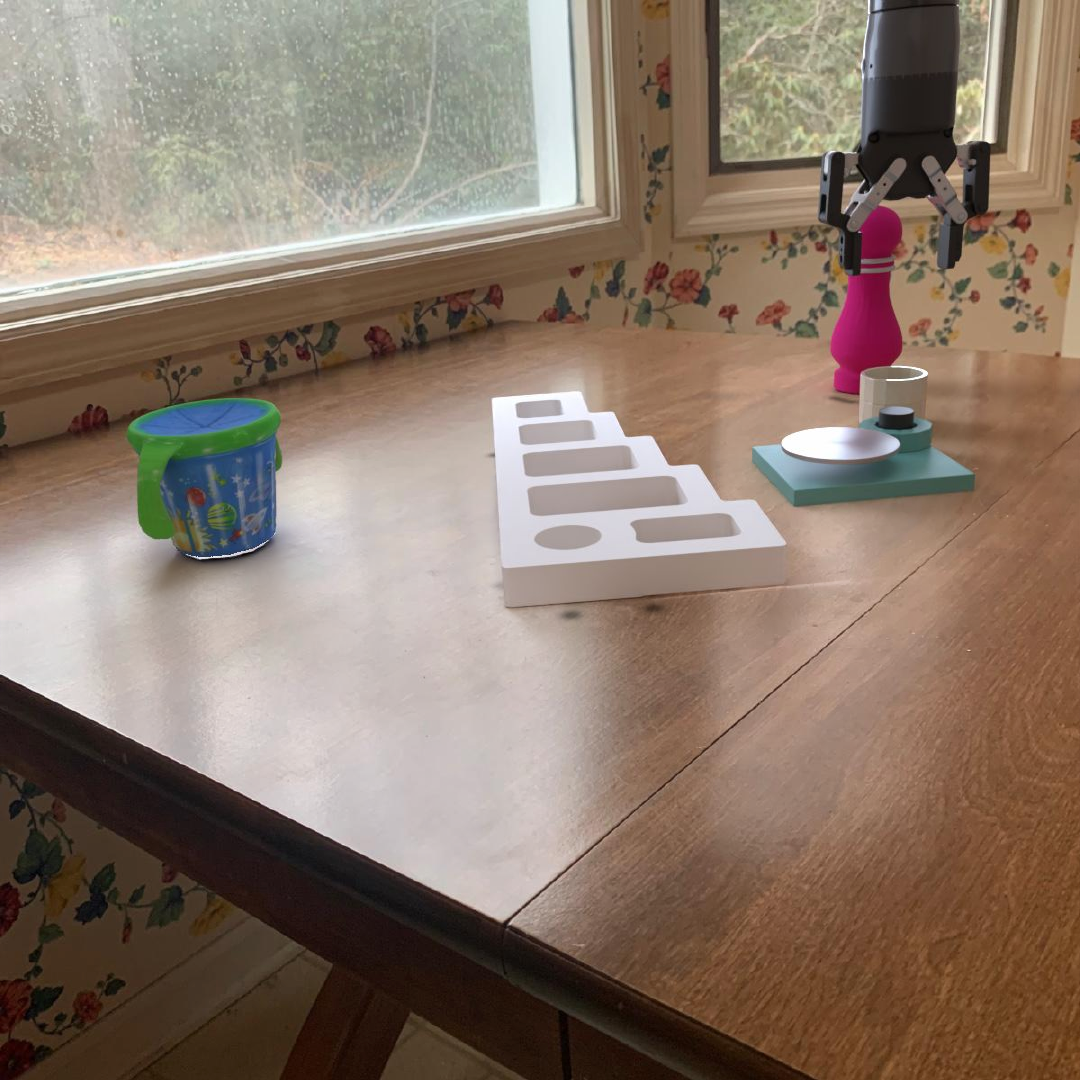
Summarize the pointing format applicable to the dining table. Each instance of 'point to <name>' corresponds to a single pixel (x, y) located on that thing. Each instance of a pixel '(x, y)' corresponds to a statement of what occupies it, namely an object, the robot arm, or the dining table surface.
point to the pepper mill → (869, 306)
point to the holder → (613, 512)
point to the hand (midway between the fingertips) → (899, 271)
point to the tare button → (896, 418)
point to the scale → (867, 471)
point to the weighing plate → (840, 445)
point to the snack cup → (208, 474)
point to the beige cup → (892, 390)
